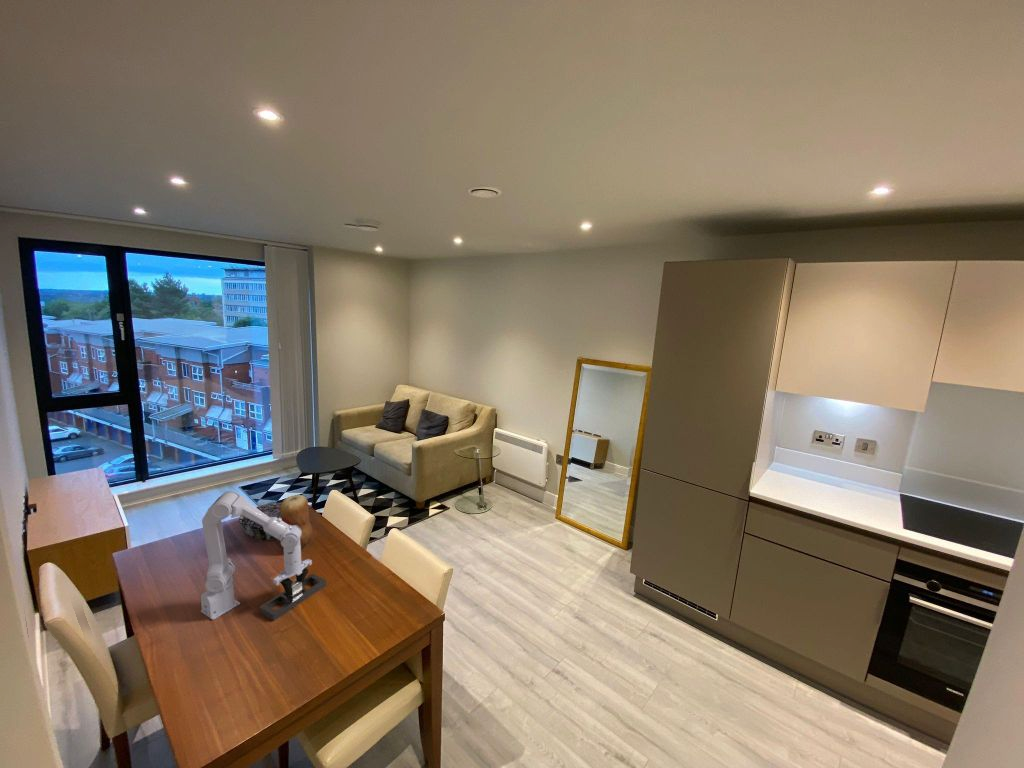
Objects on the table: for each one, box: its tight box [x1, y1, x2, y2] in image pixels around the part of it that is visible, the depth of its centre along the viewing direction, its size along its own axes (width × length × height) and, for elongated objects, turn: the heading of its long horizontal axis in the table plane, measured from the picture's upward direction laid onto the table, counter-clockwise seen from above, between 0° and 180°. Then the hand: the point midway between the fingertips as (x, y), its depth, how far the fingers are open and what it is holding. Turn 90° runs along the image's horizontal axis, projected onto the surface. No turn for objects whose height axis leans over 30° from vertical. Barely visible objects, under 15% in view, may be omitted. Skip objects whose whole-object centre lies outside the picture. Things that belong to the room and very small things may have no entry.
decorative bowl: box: [237, 502, 282, 542], centre depth 202 cm, size 26×28×10 cm
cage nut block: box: [286, 578, 302, 600], centre depth 157 cm, size 4×4×5 cm
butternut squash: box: [279, 494, 314, 549], centre depth 188 cm, size 14×13×25 cm
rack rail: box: [259, 573, 327, 622], centre depth 158 cm, size 22×8×2 cm, turn 153°
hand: (294, 590), depth 158 cm, fingers open, 4 cm apart
